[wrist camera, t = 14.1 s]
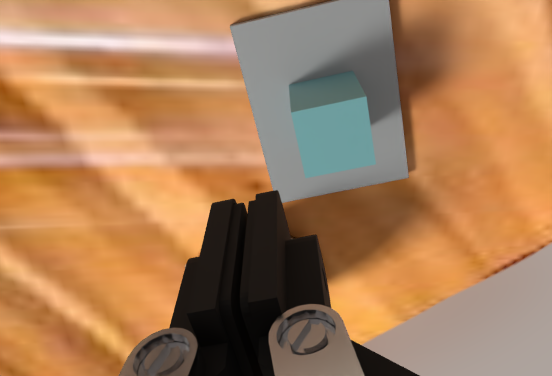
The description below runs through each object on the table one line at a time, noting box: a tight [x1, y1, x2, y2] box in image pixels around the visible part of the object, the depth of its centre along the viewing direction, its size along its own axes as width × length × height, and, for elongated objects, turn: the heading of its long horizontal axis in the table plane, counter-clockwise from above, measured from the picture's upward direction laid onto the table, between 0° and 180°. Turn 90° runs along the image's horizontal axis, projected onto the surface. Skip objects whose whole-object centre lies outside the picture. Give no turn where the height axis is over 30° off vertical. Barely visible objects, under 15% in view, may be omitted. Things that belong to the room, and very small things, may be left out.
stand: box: [230, 0, 409, 203], centre depth 38 cm, size 16×12×6 cm
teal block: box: [289, 71, 376, 178], centre depth 37 cm, size 5×5×7 cm
